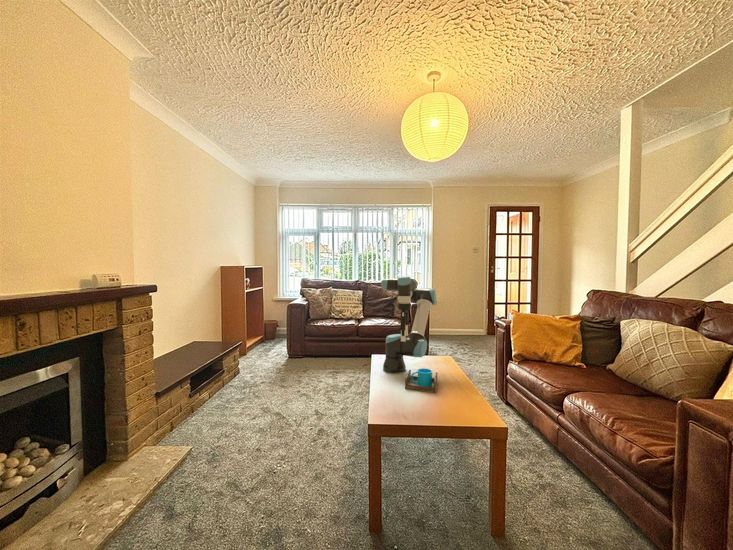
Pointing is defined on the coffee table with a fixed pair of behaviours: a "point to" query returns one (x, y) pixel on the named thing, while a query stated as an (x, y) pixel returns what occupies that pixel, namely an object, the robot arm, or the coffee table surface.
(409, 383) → the tray
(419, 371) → the mug
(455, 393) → the coffee table surface
